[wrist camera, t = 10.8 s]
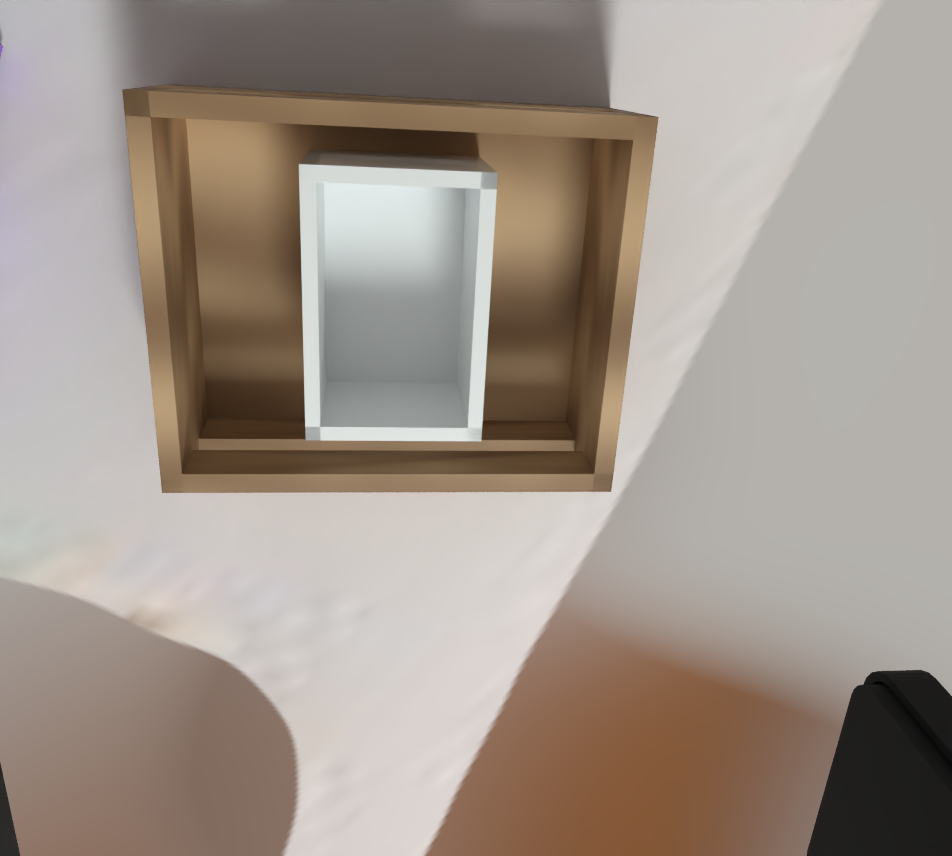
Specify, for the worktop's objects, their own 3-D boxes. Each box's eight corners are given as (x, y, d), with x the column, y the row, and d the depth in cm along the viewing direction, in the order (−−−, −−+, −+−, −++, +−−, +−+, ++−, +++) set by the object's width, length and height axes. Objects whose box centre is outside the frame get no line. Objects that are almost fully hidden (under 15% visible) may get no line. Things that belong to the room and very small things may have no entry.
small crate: (310, 148, 30) (298, 164, 26) (479, 156, 31) (497, 173, 26) (314, 388, 34) (305, 440, 29) (467, 391, 34) (481, 441, 30)
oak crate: (167, 84, 30) (122, 89, 24) (610, 107, 32) (658, 117, 26) (194, 426, 35) (162, 492, 29) (576, 429, 36) (611, 491, 31)
